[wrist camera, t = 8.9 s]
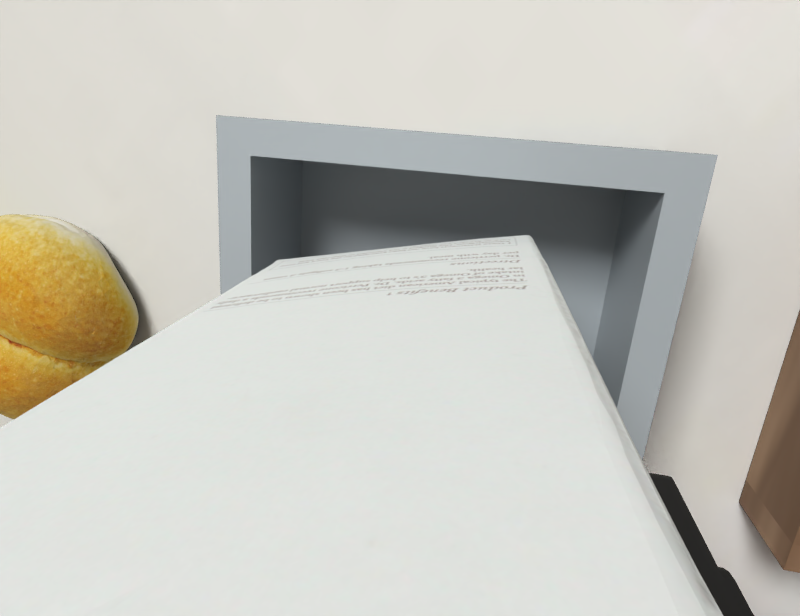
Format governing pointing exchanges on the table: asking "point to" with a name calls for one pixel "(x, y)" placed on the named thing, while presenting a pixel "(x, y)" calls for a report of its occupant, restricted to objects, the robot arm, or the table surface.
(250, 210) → the grey bin
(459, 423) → the supplement box
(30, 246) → the bread roll
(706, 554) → the robot arm
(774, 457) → the walnut frame
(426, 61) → the table surface
